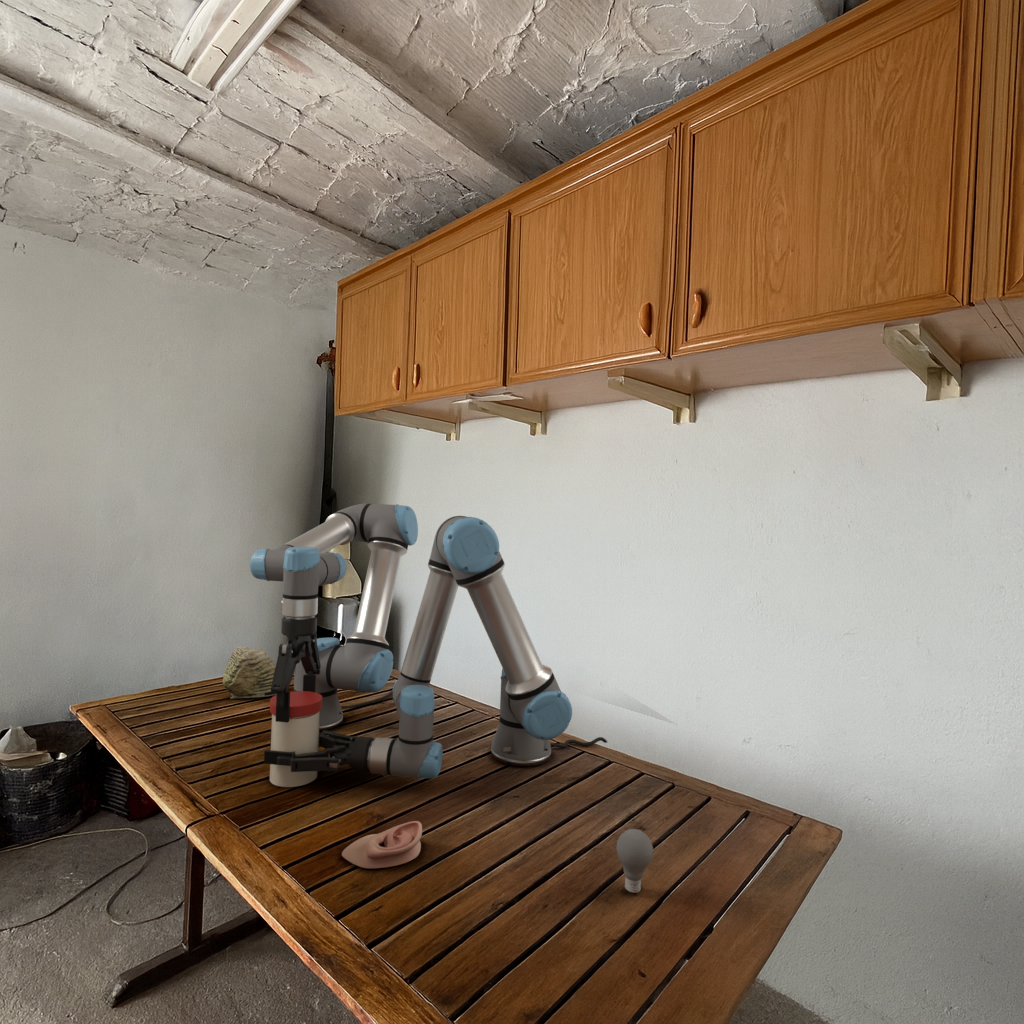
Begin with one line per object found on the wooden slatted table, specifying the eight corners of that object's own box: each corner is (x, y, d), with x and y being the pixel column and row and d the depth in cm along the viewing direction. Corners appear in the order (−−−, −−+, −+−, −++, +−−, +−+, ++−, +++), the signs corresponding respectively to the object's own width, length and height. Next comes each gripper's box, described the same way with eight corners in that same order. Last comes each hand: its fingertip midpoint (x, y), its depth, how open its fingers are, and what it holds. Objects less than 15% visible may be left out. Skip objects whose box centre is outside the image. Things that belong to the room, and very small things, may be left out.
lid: (312, 718, 137) (312, 707, 137) (261, 716, 137) (261, 705, 137) (328, 702, 148) (328, 692, 148) (281, 700, 148) (281, 689, 148)
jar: (264, 787, 137) (267, 709, 136) (274, 767, 147) (277, 694, 146) (314, 786, 138) (317, 708, 138) (320, 766, 149) (322, 694, 148)
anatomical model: (334, 840, 110) (362, 809, 121) (333, 863, 110) (362, 830, 121) (406, 852, 107) (429, 819, 118) (405, 875, 107) (428, 840, 118)
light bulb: (610, 879, 108) (613, 822, 108) (644, 879, 109) (647, 822, 109) (619, 902, 102) (622, 840, 102) (655, 901, 103) (658, 840, 103)
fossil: (218, 695, 195) (220, 647, 195) (278, 685, 208) (279, 640, 207) (228, 703, 189) (230, 653, 188) (289, 692, 201) (290, 645, 201)
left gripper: (307, 606, 154) (304, 694, 155) (255, 625, 130) (251, 729, 131) (337, 608, 154) (333, 696, 154) (290, 628, 129) (286, 732, 130)
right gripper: (353, 795, 129) (250, 786, 132) (386, 752, 152) (298, 744, 154) (354, 759, 129) (251, 750, 131) (388, 721, 152) (299, 713, 154)
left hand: (296, 711), depth 142 cm, fingers open, 12 cm apart
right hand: (276, 747), depth 143 cm, fingers closed on jar, 10 cm apart
